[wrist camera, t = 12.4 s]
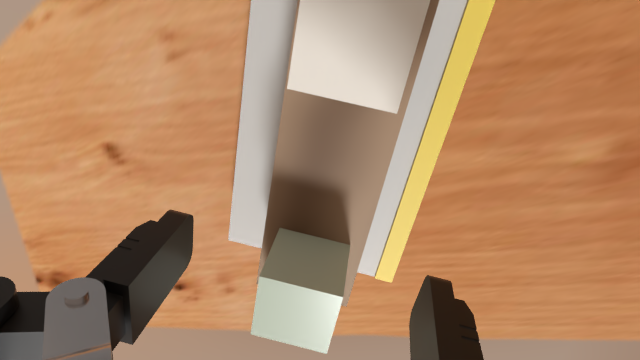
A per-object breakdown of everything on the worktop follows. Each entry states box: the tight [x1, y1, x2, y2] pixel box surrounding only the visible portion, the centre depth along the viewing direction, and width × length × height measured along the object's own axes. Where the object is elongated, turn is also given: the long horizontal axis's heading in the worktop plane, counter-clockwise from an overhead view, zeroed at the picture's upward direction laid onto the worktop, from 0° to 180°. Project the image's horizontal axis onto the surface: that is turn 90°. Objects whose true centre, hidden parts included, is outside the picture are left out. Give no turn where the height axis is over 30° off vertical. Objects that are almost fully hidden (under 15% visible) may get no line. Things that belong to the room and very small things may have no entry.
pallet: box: [257, 0, 439, 307], centre depth 22 cm, size 6×18×4 cm, turn 169°
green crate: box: [251, 228, 350, 354], centre depth 21 cm, size 4×4×4 cm
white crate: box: [287, 0, 430, 114], centre depth 15 cm, size 4×4×4 cm
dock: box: [228, 0, 495, 283], centre depth 25 cm, size 12×20×3 cm, turn 169°
